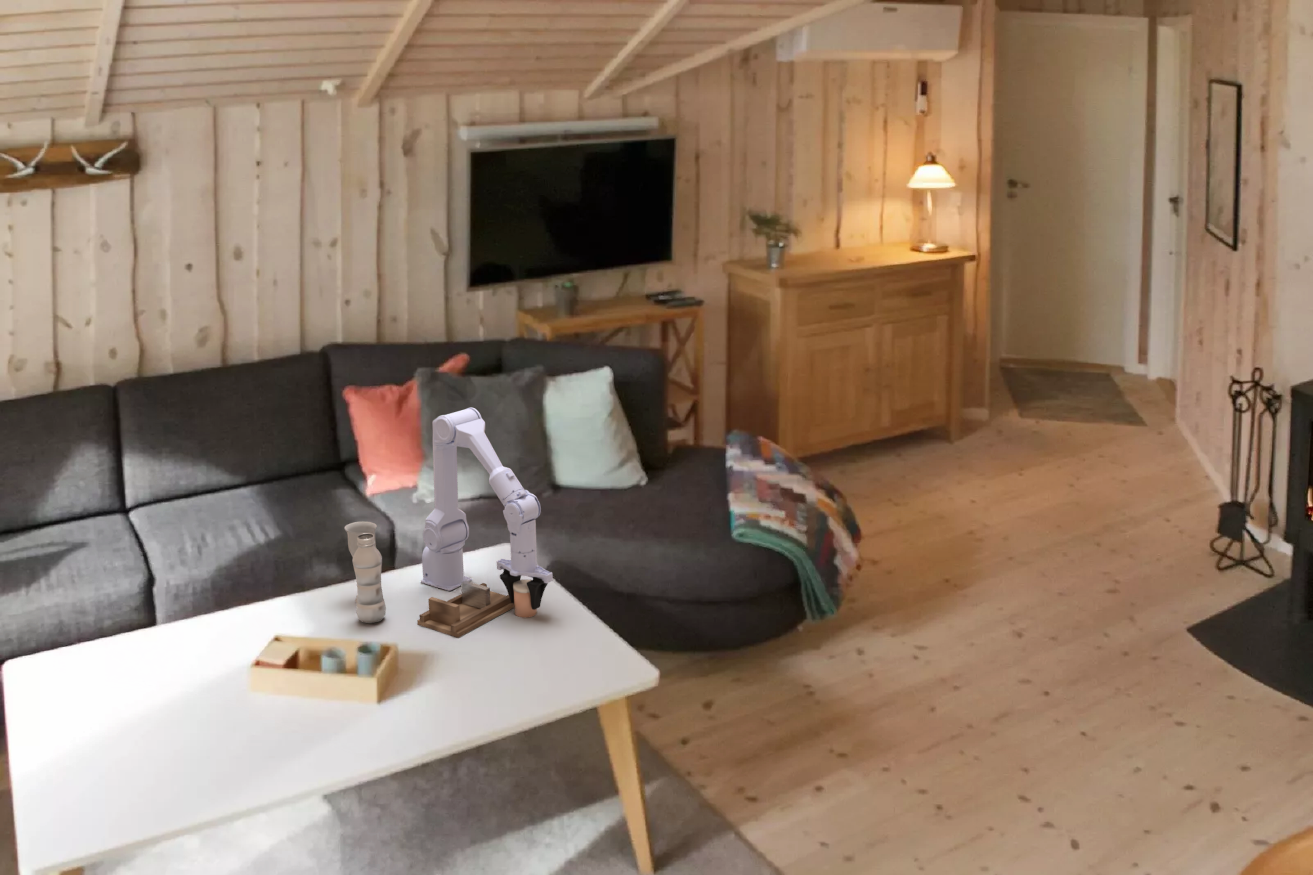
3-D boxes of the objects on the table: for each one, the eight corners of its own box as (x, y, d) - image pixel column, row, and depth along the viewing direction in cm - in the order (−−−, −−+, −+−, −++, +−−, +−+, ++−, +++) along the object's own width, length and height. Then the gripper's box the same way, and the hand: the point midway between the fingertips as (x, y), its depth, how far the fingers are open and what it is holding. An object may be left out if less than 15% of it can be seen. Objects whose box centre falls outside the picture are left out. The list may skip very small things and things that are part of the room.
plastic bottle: (390, 614, 296) (384, 531, 290) (381, 627, 290) (375, 542, 284) (362, 613, 297) (356, 530, 291) (352, 626, 290) (346, 541, 284)
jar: (509, 614, 296) (508, 585, 294) (524, 606, 300) (523, 577, 298) (527, 619, 293) (526, 590, 291) (542, 611, 297) (541, 582, 295)
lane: (417, 624, 291) (415, 599, 289) (480, 592, 308) (479, 568, 306) (458, 637, 285) (456, 612, 283) (520, 603, 301) (519, 579, 300)
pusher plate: (462, 603, 299) (461, 582, 297) (466, 600, 300) (465, 580, 299) (486, 610, 295) (485, 589, 294) (490, 608, 296) (489, 587, 295)
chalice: (344, 604, 302) (338, 530, 296) (359, 592, 308) (353, 520, 302) (373, 607, 300) (367, 533, 294) (387, 596, 306) (382, 523, 300)
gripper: (486, 547, 293) (489, 603, 297) (537, 561, 285) (539, 618, 289) (507, 537, 298) (509, 592, 303) (557, 551, 291) (559, 607, 295)
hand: (525, 604), depth 296 cm, fingers open, 5 cm apart
